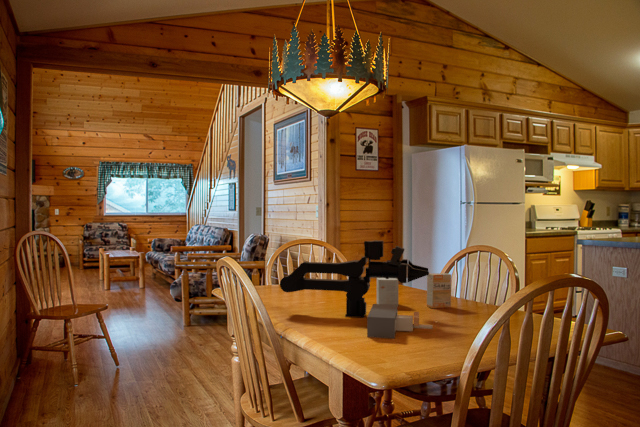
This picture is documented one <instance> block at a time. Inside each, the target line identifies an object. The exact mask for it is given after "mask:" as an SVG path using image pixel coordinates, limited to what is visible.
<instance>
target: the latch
mask: <svg viewBox="0 0 640 427" xmlns="http://www.w3.org/2000/svg"><path fill="white" fill-rule="evenodd" d="M413 324H414V326H419V324H420V312H419V311H413Z"/></svg>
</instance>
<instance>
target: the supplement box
mask: <svg viewBox="0 0 640 427" xmlns="http://www.w3.org/2000/svg"><path fill="white" fill-rule="evenodd" d="M426 276H427V277H426V307H428V308H430V309H442V308H443V309H445V308H450V309H451V308H452V274H451V273H446V272H443V273H441V272H440V273H439V272H438V273H430V272H429V275H426Z"/></svg>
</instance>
